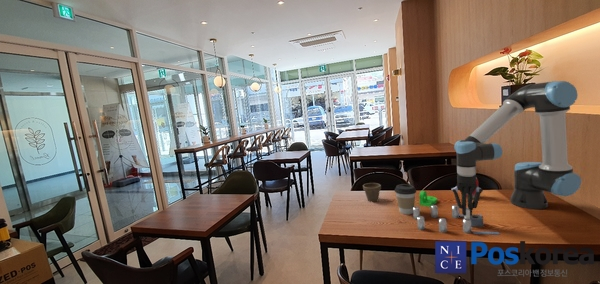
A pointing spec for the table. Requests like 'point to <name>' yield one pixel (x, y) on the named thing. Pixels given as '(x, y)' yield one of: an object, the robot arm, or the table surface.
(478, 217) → the speaker
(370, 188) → the flower pot
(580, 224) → the table surface
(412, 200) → the coffee cup
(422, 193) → the mechanical part
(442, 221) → the spacers
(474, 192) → the beverage can
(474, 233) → the blue-grey flat plate
